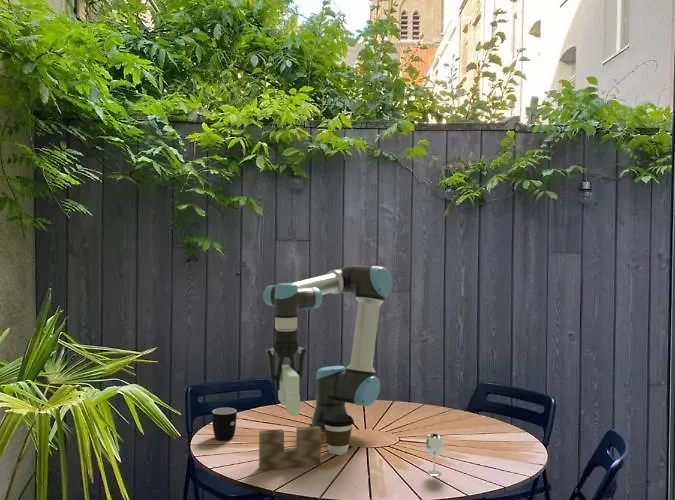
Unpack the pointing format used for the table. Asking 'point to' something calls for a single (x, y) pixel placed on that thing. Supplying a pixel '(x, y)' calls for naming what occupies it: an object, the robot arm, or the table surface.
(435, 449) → the wineglass
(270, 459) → the slotted board
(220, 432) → the mug
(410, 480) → the table surface
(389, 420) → the table surface
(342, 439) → the coffee cup
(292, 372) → the sage plate
